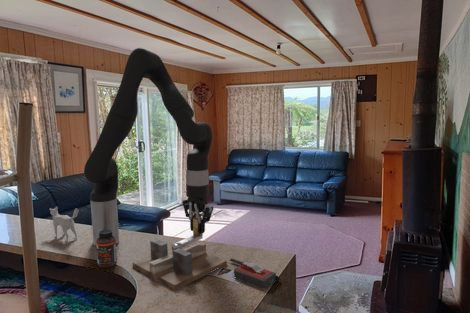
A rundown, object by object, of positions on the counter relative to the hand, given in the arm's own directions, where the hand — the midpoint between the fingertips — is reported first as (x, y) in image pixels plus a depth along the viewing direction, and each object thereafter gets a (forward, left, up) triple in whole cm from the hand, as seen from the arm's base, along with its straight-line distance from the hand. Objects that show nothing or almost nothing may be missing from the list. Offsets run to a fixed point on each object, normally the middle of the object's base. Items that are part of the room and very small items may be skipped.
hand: (197, 231), depth 117 cm
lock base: (+1, -10, -9) cm, 13 cm away
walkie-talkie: (+22, +1, -10) cm, 24 cm away
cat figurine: (-52, -23, -9) cm, 58 cm away
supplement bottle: (-18, -24, -9) cm, 31 cm away
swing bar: (+1, -5, -3) cm, 5 cm away
